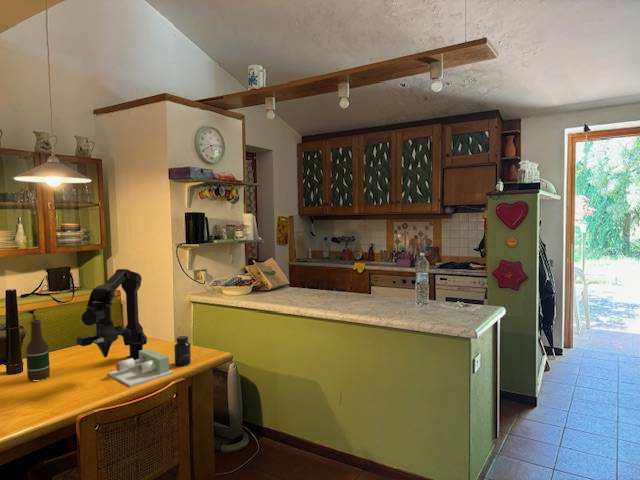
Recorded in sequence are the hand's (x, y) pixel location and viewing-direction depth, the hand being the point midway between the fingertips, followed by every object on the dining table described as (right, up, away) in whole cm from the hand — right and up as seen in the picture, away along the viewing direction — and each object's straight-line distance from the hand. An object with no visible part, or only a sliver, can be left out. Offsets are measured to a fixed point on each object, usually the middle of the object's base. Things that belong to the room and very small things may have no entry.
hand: (105, 357), depth 175 cm
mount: (+12, -9, +7) cm, 17 cm away
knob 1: (+7, -7, +8) cm, 13 cm away
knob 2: (+17, -7, +6) cm, 20 cm away
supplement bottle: (+26, -8, +18) cm, 32 cm away
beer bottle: (-29, -10, +3) cm, 31 cm away
